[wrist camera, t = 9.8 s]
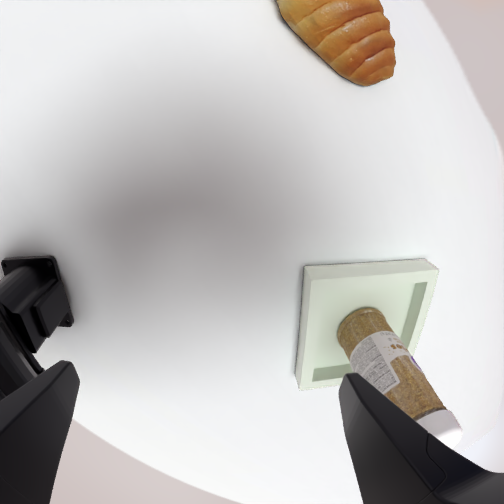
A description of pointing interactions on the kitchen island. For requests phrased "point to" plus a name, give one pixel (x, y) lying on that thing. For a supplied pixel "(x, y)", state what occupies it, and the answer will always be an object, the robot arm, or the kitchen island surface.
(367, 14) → the pastry
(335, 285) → the tray
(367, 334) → the sprinkles bottle
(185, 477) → the kitchen island surface
